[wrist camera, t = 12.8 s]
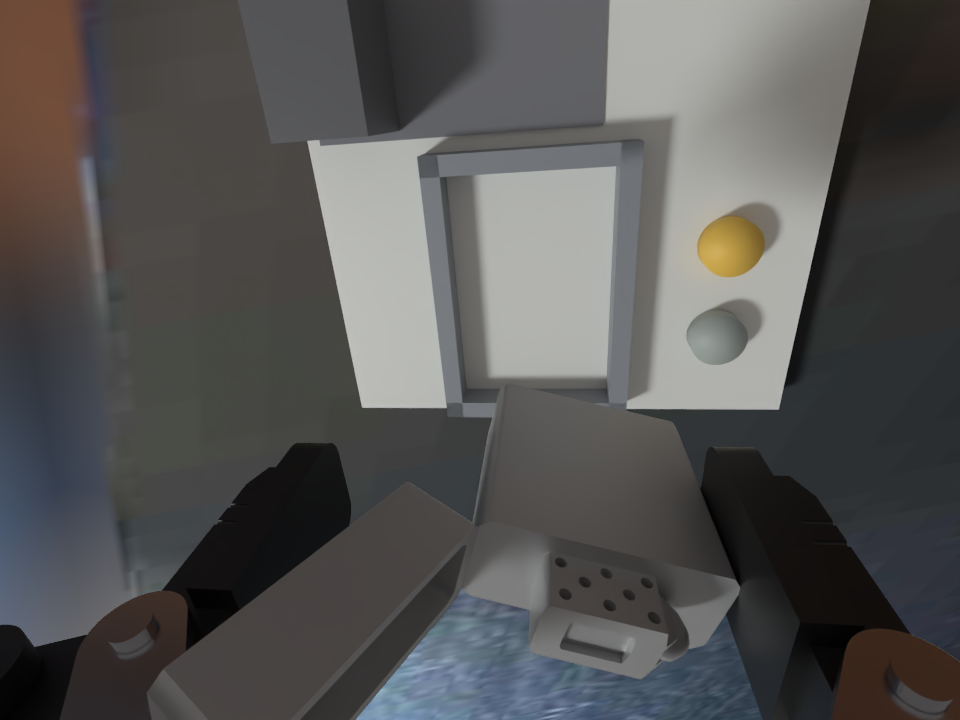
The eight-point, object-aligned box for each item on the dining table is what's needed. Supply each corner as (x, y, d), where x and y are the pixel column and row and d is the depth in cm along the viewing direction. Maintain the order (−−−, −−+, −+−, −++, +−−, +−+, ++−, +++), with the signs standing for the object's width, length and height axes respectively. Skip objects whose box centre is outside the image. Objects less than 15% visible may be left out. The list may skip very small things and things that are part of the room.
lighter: (679, 423, 11) (901, 949, 4) (652, 481, 12) (801, 1005, 5) (374, 351, 11) (98, 750, 4) (367, 413, 12) (123, 835, 5)
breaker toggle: (382, -9, 16) (341, -36, 13) (399, 130, 18) (368, 136, 15) (292, 2, 16) (232, -22, 13) (319, 136, 18) (271, 143, 15)
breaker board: (866, -75, 15) (919, -106, 13) (767, 394, 22) (791, 425, 20) (292, -7, 17) (256, -22, 15) (370, 394, 24) (353, 422, 22)
